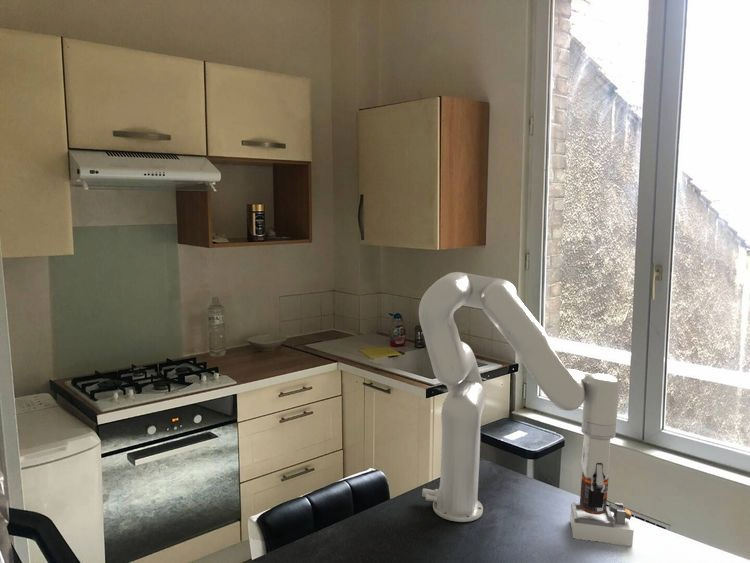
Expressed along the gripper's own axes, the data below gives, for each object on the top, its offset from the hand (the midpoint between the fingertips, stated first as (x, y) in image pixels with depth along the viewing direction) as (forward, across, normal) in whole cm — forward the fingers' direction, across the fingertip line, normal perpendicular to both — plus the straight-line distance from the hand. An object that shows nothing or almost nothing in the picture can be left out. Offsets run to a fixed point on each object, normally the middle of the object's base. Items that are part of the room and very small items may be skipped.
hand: (593, 499), depth 146 cm
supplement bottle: (+3, 0, 0) cm, 3 cm away
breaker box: (+8, 0, +2) cm, 9 cm away
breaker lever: (+2, 0, +6) cm, 6 cm away
